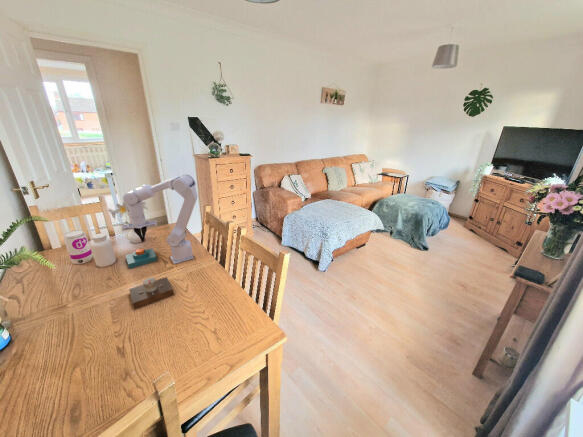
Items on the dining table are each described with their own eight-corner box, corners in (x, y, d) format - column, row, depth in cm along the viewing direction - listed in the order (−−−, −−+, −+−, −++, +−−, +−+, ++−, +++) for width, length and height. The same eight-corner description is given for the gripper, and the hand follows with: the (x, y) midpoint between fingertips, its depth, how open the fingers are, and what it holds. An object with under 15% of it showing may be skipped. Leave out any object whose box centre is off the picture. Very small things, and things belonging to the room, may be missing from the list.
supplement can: (96, 259, 119) (88, 232, 114) (76, 266, 113) (65, 238, 107) (89, 254, 123) (80, 228, 118) (69, 261, 117) (59, 234, 111)
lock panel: (167, 282, 105) (166, 276, 104) (174, 294, 98) (172, 288, 97) (130, 295, 97) (128, 288, 96) (134, 309, 90) (132, 303, 89)
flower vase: (113, 243, 134) (101, 201, 124) (147, 232, 148) (138, 194, 139) (124, 251, 127) (113, 207, 118) (158, 238, 142) (150, 198, 132)
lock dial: (144, 287, 97) (142, 278, 95) (156, 284, 99) (155, 275, 98) (144, 293, 94) (142, 285, 92) (157, 290, 96) (155, 281, 94)
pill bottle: (120, 259, 120) (113, 232, 115) (107, 268, 113) (99, 240, 107) (105, 257, 121) (97, 231, 115) (92, 266, 114) (82, 238, 108)
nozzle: (143, 250, 121) (143, 247, 120) (145, 253, 118) (144, 250, 118) (135, 252, 119) (134, 249, 118) (136, 255, 116) (135, 252, 116)
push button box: (153, 252, 127) (151, 245, 126) (157, 261, 120) (155, 253, 118) (126, 259, 120) (124, 251, 119) (129, 269, 113) (127, 260, 111)
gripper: (118, 221, 107) (125, 247, 112) (155, 215, 114) (160, 240, 119) (119, 215, 113) (126, 241, 118) (154, 211, 120) (159, 235, 125)
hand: (143, 240), depth 119 cm, fingers closed
